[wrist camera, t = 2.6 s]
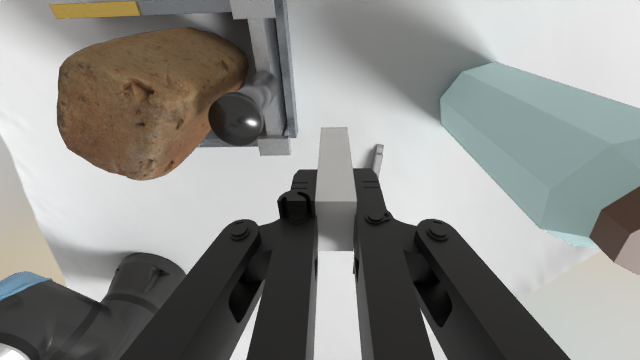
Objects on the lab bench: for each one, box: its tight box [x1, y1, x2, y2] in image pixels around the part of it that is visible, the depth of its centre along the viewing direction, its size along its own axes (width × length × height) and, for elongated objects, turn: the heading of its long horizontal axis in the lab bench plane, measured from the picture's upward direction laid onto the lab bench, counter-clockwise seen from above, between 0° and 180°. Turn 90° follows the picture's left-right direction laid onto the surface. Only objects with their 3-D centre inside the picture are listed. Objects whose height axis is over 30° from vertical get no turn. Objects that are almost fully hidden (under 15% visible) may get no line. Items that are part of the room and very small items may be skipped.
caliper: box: [372, 145, 384, 177], centre depth 42 cm, size 20×1×6 cm, turn 175°
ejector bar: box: [208, 0, 291, 156], centre depth 26 cm, size 4×18×17 cm, turn 2°
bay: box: [50, 0, 298, 147], centre depth 31 cm, size 23×16×5 cm
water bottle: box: [440, 62, 640, 275], centre depth 24 cm, size 10×10×25 cm
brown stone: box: [57, 27, 248, 181], centre depth 25 cm, size 11×8×20 cm
